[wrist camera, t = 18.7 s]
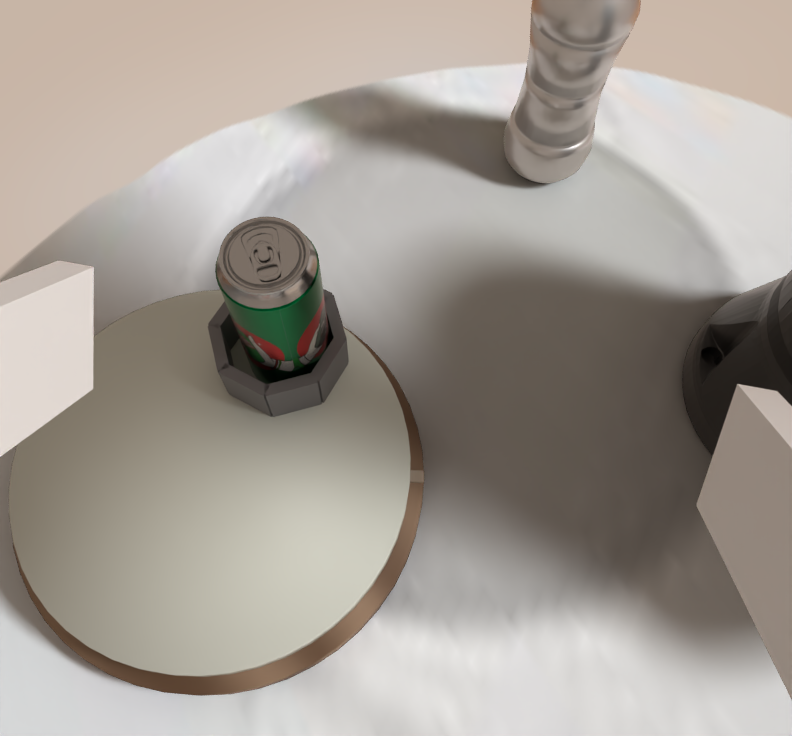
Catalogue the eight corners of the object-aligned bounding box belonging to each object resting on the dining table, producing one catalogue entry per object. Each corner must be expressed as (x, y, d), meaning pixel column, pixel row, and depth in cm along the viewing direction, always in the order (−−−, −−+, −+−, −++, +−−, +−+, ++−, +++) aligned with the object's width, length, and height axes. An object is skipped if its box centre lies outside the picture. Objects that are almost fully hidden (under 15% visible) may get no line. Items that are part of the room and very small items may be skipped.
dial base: (315, 256, 55) (312, 238, 53) (496, 560, 46) (501, 553, 44) (-25, 408, 50) (-43, 395, 47) (106, 785, 41) (91, 789, 39)
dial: (279, 762, 39) (265, 769, 34) (-61, 547, 43) (-116, 527, 39) (483, 384, 48) (494, 348, 44) (185, 237, 53) (166, 189, 48)
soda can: (321, 314, 48) (303, 199, 37) (341, 384, 46) (329, 284, 35) (243, 334, 47) (201, 223, 36) (260, 406, 45) (222, 311, 34)
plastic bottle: (596, 183, 58) (695, -57, 40) (515, 203, 57) (578, -33, 39) (564, 121, 61) (643, -131, 42) (486, 139, 60) (532, -110, 41)
